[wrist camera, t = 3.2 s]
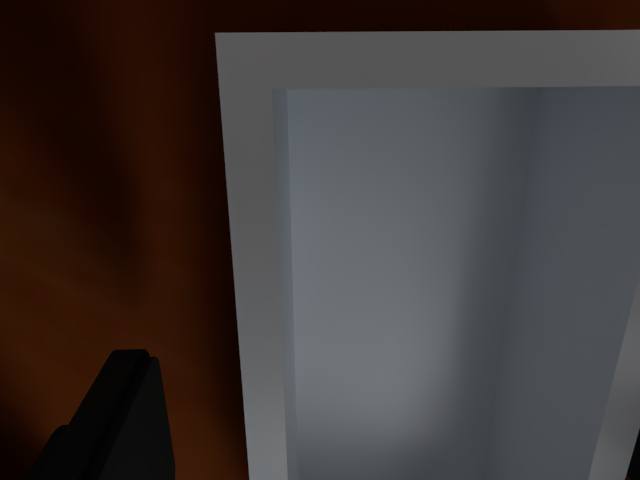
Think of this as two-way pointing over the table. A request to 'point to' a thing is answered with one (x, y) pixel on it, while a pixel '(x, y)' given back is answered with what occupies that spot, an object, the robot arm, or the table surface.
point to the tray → (435, 252)
